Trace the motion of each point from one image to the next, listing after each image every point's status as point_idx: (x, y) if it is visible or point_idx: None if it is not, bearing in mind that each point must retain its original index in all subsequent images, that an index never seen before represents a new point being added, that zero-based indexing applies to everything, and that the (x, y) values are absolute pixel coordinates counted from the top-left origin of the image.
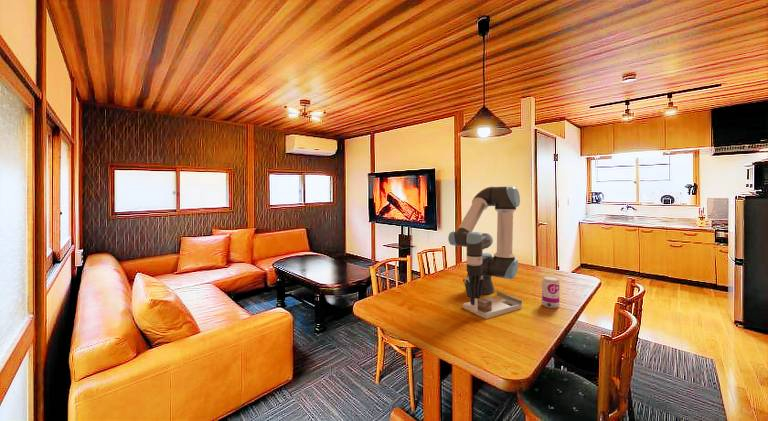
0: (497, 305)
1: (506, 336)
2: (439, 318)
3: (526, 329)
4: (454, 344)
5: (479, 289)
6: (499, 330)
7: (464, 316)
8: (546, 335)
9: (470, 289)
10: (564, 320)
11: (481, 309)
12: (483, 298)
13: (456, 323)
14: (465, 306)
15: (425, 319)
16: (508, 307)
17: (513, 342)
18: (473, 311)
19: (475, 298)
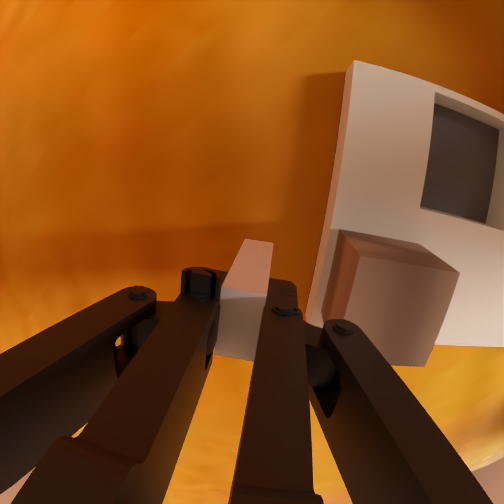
0: (500, 286)
1: (208, 450)
2: (65, 114)
3: (336, 464)
4: (8, 343)
5: (339, 425)
6: (231, 420)
7: (215, 185)
8: (335, 498)
9: (63, 429)
10: (487, 460)
11: (330, 286)
12: (441, 278)
13: (93, 230)
14: (347, 90)
15: (16, 91)
16: (499, 345)
17: (191, 471)
18: (332, 188)
19: (232, 346)
